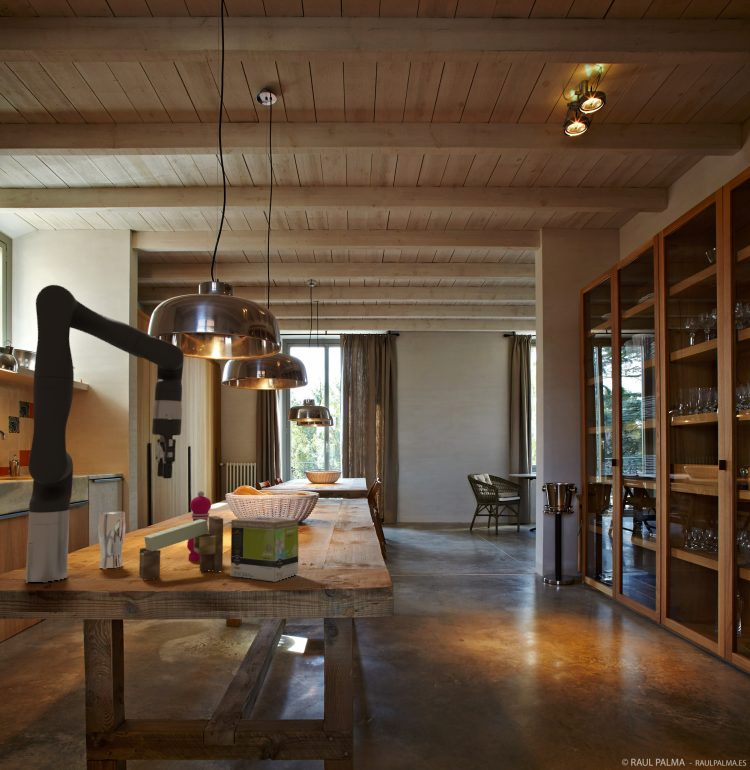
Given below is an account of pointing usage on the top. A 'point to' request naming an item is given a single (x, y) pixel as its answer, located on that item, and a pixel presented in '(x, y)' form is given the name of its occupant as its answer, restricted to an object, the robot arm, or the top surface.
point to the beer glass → (111, 538)
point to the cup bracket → (211, 546)
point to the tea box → (264, 548)
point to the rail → (176, 535)
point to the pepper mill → (200, 511)
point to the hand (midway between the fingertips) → (164, 477)
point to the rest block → (149, 564)
